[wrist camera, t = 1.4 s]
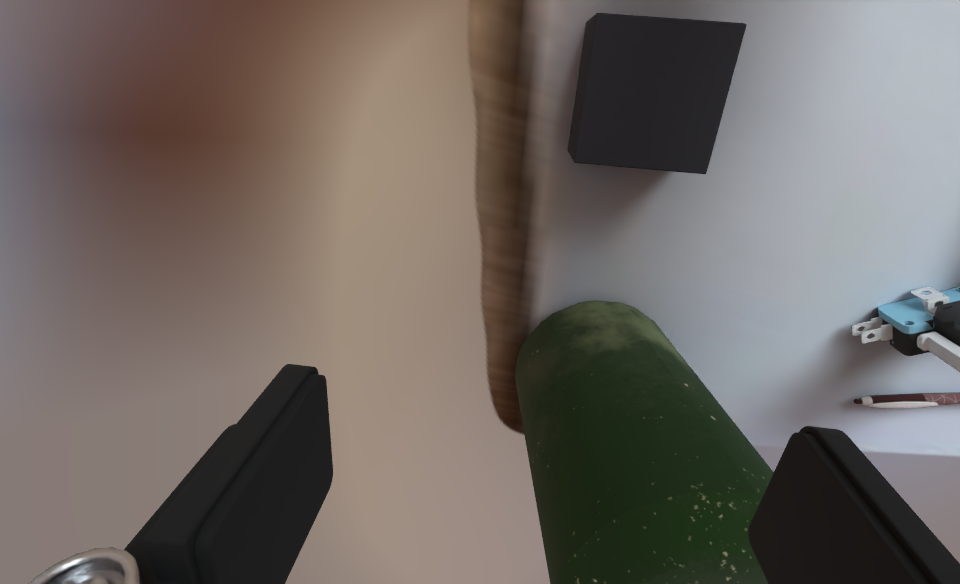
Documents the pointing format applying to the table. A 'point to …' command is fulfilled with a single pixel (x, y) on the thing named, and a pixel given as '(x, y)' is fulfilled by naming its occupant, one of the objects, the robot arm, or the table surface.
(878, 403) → the pen
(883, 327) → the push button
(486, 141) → the table surface
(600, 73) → the small black block
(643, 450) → the green bottle
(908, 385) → the table surface
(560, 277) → the table surface
